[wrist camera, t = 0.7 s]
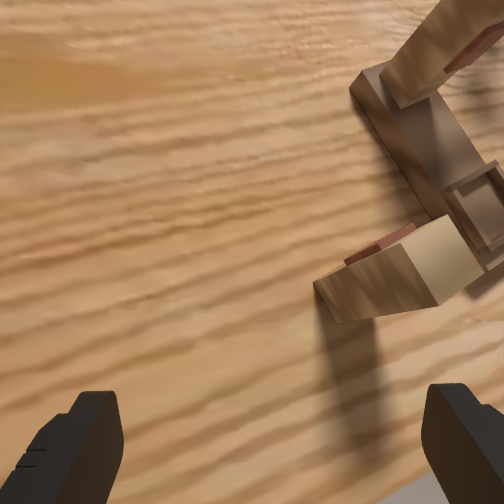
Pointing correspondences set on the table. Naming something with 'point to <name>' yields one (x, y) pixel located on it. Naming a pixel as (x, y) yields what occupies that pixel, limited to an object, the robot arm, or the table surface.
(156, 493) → the table surface
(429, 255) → the tall wooden pillar
